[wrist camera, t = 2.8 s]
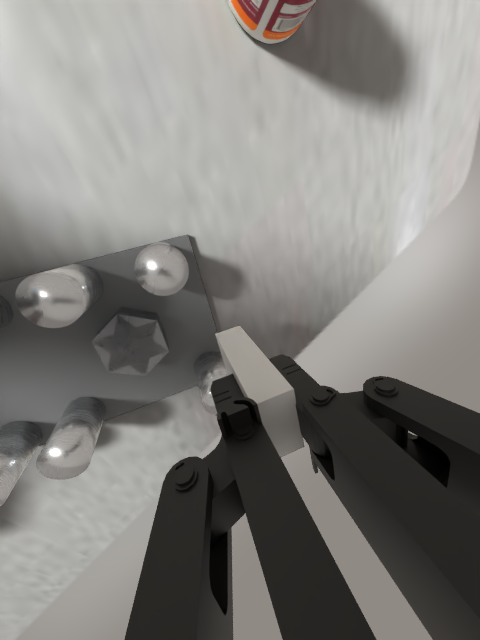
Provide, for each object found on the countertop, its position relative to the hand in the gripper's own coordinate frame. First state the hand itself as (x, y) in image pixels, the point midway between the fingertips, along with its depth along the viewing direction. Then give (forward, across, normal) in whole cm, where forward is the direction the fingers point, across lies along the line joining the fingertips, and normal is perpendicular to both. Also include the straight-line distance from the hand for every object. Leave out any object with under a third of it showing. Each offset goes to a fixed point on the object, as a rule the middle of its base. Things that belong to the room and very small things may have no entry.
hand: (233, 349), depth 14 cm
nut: (+7, -6, 0) cm, 10 cm away
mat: (+8, -12, 0) cm, 14 cm away
